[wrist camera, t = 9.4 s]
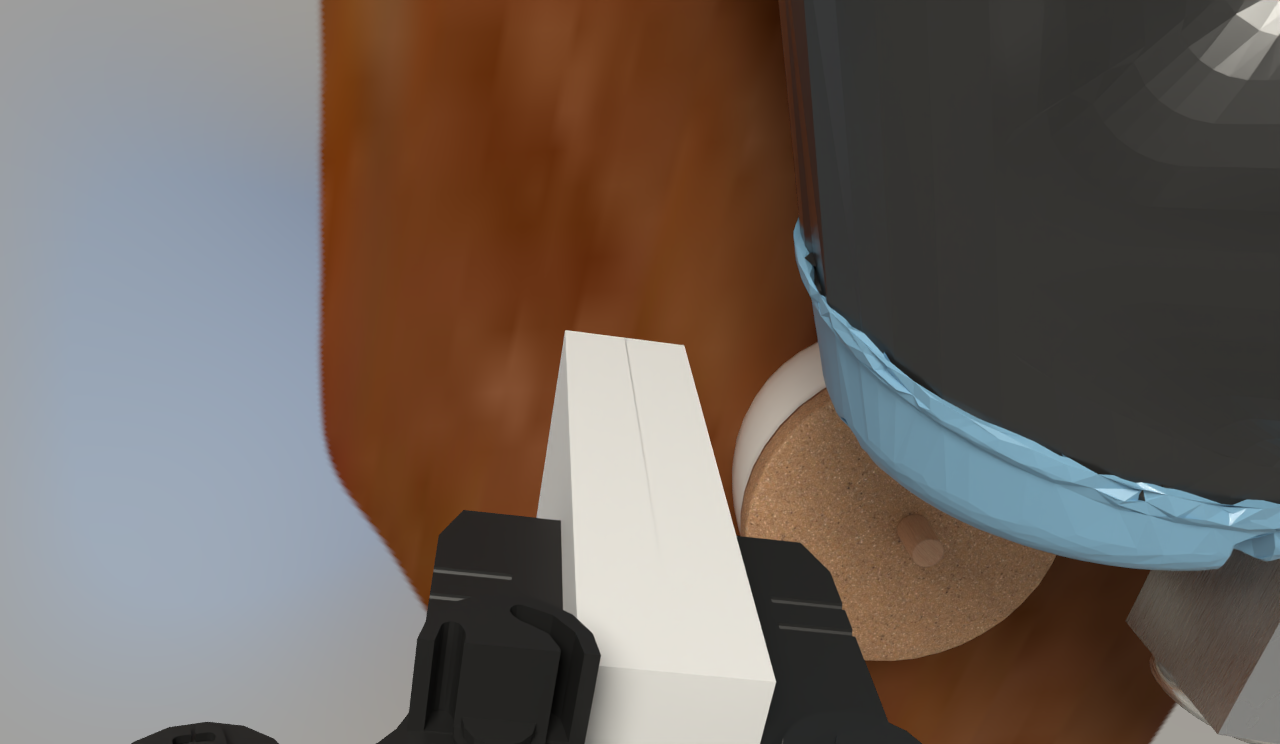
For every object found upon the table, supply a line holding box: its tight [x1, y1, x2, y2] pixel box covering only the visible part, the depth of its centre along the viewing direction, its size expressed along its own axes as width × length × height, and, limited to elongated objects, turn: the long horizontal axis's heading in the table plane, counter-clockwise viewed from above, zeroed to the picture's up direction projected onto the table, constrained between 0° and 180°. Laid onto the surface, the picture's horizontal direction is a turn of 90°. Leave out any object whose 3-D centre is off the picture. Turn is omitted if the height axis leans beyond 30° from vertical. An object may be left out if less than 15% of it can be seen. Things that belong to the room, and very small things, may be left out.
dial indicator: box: [1126, 549, 1280, 744], centre depth 42 cm, size 7×5×12 cm
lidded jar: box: [732, 342, 1056, 661], centre depth 41 cm, size 11×11×9 cm
